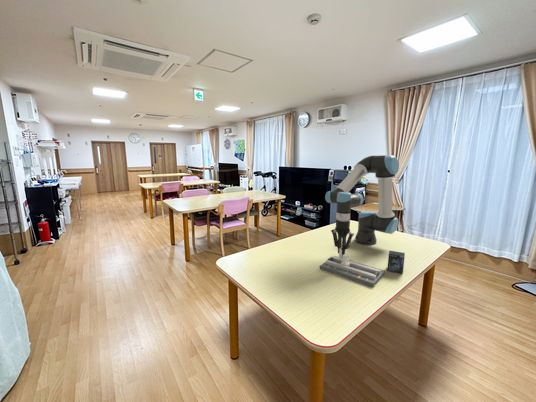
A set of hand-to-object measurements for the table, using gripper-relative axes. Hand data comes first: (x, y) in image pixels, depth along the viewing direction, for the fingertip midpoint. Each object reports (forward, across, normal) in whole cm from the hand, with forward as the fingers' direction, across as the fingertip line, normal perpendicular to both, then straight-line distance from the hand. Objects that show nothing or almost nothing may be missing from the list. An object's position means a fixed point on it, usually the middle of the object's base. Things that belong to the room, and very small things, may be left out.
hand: (341, 259), depth 138 cm
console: (+5, +7, 0) cm, 9 cm away
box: (+6, +24, +17) cm, 30 cm away
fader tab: (+3, +3, 0) cm, 4 cm away
